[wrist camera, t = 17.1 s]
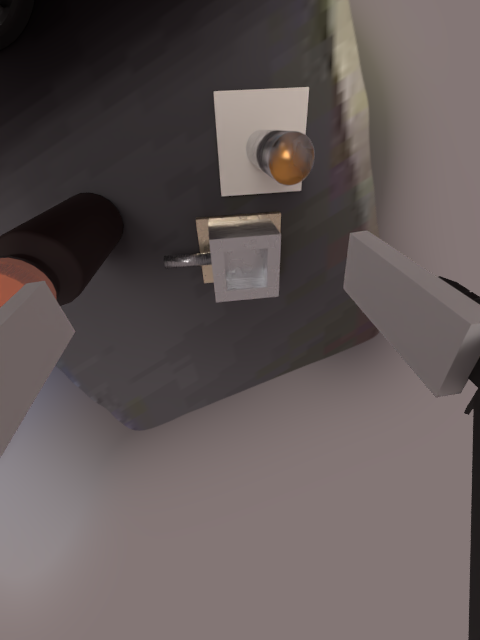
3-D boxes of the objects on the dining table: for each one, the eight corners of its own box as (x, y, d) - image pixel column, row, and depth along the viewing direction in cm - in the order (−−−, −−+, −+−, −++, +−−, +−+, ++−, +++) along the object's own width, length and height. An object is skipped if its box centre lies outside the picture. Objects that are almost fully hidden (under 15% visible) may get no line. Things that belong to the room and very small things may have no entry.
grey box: (160, 220, 36) (152, 239, 30) (279, 211, 37) (294, 228, 31) (173, 282, 41) (168, 310, 35) (277, 273, 42) (289, 298, 36)
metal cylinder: (255, 173, 33) (280, 195, 22) (240, 142, 31) (259, 150, 20) (282, 154, 32) (321, 168, 22) (267, 121, 30) (303, 119, 20)
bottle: (96, 180, 32) (-11, 235, 16) (135, 231, 36) (80, 317, 20) (52, 210, 34) (-88, 289, 17) (94, 256, 37) (11, 356, 21)
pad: (213, 92, 29) (213, 91, 28) (306, 87, 30) (309, 86, 29) (221, 195, 35) (221, 196, 34) (299, 189, 35) (301, 190, 35)
